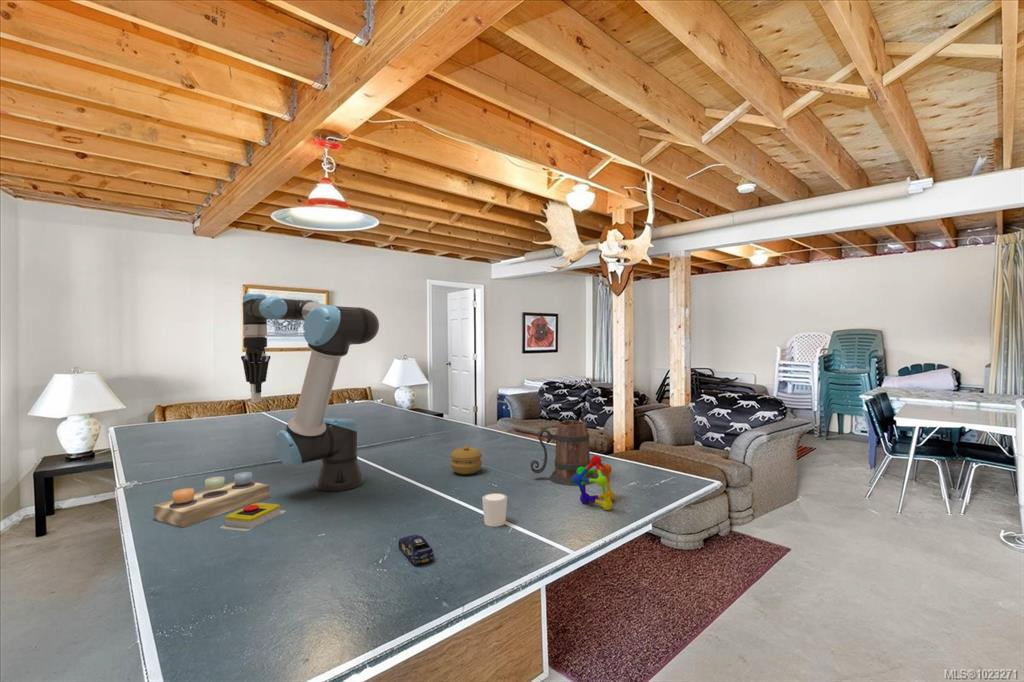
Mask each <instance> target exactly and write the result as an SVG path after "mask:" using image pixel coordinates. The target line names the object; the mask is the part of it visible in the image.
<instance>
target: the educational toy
mask: <svg viewBox="0 0 1024 682" xmlns="http://www.w3.org/2000/svg"><path fill="white" fill-rule="evenodd" d="M590 460H591V463H590V464H588V465H587V466H586V467H579V468H578V469H577V474H575V475H574V476H573V482H574V483H575V484H577V485H578V486H577V487H579V488H578V489H579V491H580V493H581V494H580V495H579V501H580V502H581V503H582V504H588V503H590V502H591V503H594V504H597V505H600V506H601V507H602V509H604V510H605V511H610V510H612V508H613V501H614V499H615V493H614V491H612V489H611V484H610V480H611V479H610V476H609V475H610V474H611V473H612V471H613V470H612V467H611V465H610V464H607V463H605V464H603V463H602V458H601V457H600V456H599V455H593V456H591V457H590ZM593 467H596V468H593ZM586 473H597V475H598V477H596V478H597V479H591V478H584V476H585V475H586ZM603 474H604V475H603ZM585 482H595V484H597V486H598V487H601V492H602V494H598V495H597V494H596V495H590V494H589V493H587V491H586V489H587V488H586V485H585ZM598 499H600V500H598ZM601 499H603V500H601Z"/></svg>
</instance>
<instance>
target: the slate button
mask: <svg viewBox="0 0 1024 682" xmlns="http://www.w3.org/2000/svg"><path fill="white" fill-rule="evenodd" d="M233 482H234V484H236V485H242V484H247V483H250V482H253V472H251V471H242V472H238V473H235V474H234V475H233Z"/></svg>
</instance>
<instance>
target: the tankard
mask: <svg viewBox="0 0 1024 682" xmlns="http://www.w3.org/2000/svg"><path fill="white" fill-rule="evenodd" d="M544 433H546V435H547V436H546V438H547V440H546V441H545V442H546V443H547V444H549V443H550V442H552V440H553V438H554V439H555V458H554V471H552V473H551V475H550V476H549V477H548V478H549V479H548V480H549V481H550V482H552V483H554V484H557V485H560V486H561V485H562V486H567V487H568V486H569V487H579V486H578V485H577V484H575V483H574V482H573V476H574V475H575V474H577V469H578V468H579V467H586V466H587V465H588V464H590V463H591V456H590V455H591V454H590V433H589V430H588V424H587V422H585V421H579V420H573V419H571V420H570V419H567V420H562V421H558V422H557V427H556V432H555V434H553V433H551V432H550V431H549V430H548V429H547V428H544V429H541V430H539V431H538V437H537V438H538V441H539V443H540V445H541V446H542V449H543V452H544V459H543V463H542V465H541V466H540V462H539V461H538V460H537V459H535V460H532V461H531V462H530V464H529V465H530V470H531V471H532V472H533V473H534V474H541V473H542V472H543V471H545V469H546V466H547V463H548V452H547V448H546V445H545V444H544V442H543V439H542V435H543V434H544ZM535 464H537V465H535ZM534 465H535V466H534ZM534 467H535V468H534ZM539 467H540V468H539ZM538 468H539V469H538ZM584 478H591V479H597V478H598V477H596V476H595V475H594V472H592V473H586V475H585V476H584ZM594 483H595V482H585V486H589V485H592V484H593V485H594ZM595 484H596V483H595Z"/></svg>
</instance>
